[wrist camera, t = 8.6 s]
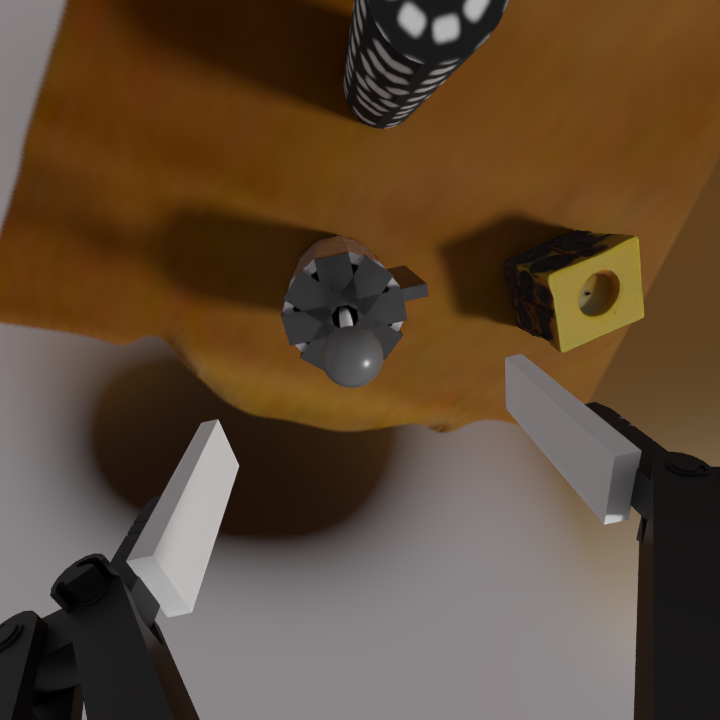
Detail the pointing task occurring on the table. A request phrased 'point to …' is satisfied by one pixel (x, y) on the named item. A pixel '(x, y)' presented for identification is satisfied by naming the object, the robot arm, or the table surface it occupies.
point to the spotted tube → (409, 52)
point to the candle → (577, 287)
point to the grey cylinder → (346, 296)
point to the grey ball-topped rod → (351, 351)
